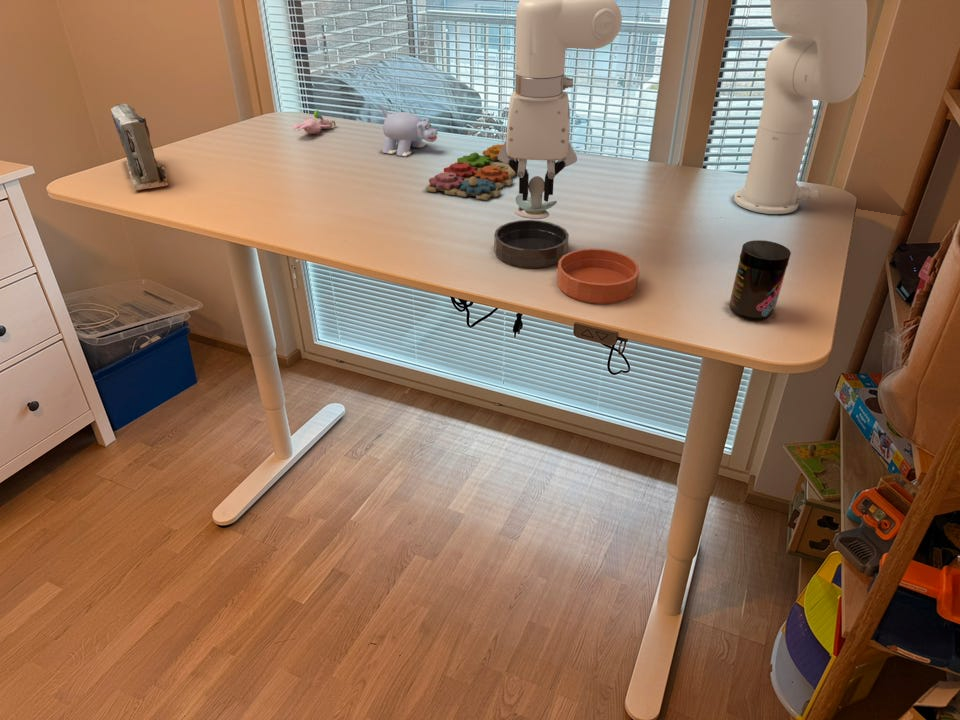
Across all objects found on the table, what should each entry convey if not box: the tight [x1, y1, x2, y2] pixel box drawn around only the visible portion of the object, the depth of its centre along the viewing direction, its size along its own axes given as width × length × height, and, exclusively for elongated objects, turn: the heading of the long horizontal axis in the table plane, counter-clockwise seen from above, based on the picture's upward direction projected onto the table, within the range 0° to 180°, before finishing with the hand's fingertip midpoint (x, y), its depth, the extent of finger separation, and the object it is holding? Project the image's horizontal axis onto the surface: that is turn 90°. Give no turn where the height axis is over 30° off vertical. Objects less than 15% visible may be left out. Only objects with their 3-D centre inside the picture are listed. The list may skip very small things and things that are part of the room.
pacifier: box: [513, 175, 558, 220], centre depth 118 cm, size 7×6×6 cm
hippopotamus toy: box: [379, 107, 439, 157], centre depth 170 cm, size 11×15×10 cm
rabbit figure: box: [292, 109, 337, 135], centre depth 182 cm, size 6×6×15 cm
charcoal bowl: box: [493, 219, 570, 269], centre depth 123 cm, size 13×13×4 cm
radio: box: [110, 103, 169, 191], centre depth 153 cm, size 23×9×15 cm, turn 23°
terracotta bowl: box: [556, 248, 641, 305], centre depth 113 cm, size 13×13×4 cm
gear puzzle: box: [425, 144, 518, 201], centre depth 156 cm, size 31×16×4 cm, turn 157°
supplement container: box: [728, 239, 792, 322], centre depth 104 cm, size 7×7×10 cm
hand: (535, 197), depth 118 cm, fingers closed on pacifier, 3 cm apart
